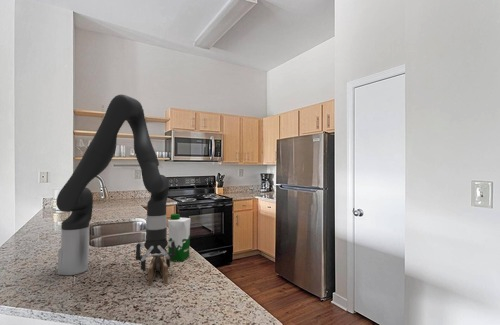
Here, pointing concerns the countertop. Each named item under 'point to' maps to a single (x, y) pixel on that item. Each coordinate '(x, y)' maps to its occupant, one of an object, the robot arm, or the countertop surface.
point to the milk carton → (179, 236)
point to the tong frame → (152, 268)
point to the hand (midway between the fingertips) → (155, 269)
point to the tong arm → (162, 268)
